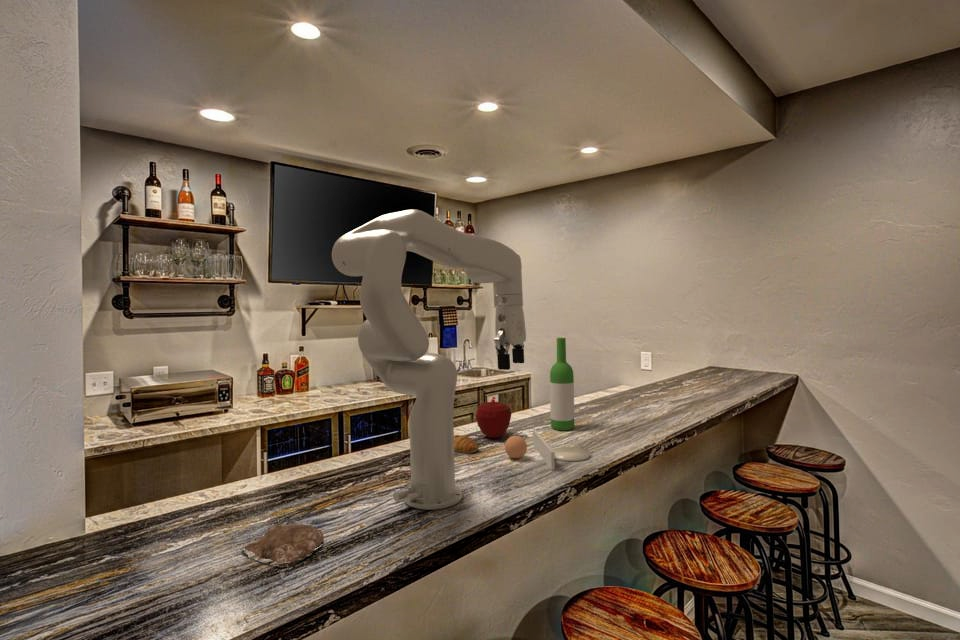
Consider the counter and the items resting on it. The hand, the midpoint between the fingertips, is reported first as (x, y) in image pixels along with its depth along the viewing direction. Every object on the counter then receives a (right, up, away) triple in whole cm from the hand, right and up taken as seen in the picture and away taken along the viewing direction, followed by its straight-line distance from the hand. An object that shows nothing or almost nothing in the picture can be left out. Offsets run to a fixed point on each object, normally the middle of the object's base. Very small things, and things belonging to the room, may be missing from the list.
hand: (511, 366), depth 131 cm
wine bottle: (+19, -24, +34) cm, 46 cm away
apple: (-4, -25, +25) cm, 35 cm away
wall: (+9, -25, +4) cm, 27 cm away
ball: (+1, -22, +4) cm, 23 cm away
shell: (-42, -29, -43) cm, 67 cm away
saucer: (+16, -25, +5) cm, 30 cm away
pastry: (-13, -26, +13) cm, 32 cm away
